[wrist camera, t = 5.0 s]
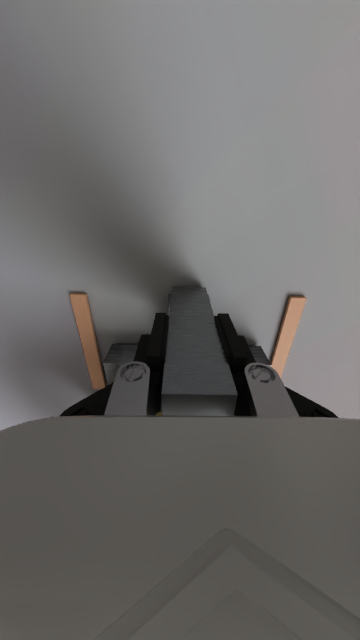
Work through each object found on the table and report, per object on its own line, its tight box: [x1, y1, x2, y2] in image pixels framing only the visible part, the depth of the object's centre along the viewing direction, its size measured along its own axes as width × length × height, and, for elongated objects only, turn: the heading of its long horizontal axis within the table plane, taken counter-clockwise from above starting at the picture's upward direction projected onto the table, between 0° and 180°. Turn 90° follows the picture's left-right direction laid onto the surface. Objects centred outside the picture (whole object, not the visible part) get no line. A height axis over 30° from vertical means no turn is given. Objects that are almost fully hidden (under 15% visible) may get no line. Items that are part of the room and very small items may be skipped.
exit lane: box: [70, 293, 307, 389], centre depth 19 cm, size 10×18×1 cm, turn 89°
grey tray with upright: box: [103, 287, 271, 416], centre depth 16 cm, size 18×13×10 cm
